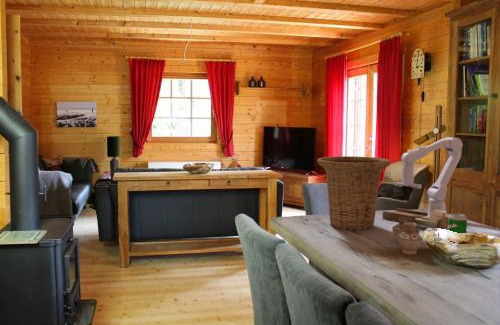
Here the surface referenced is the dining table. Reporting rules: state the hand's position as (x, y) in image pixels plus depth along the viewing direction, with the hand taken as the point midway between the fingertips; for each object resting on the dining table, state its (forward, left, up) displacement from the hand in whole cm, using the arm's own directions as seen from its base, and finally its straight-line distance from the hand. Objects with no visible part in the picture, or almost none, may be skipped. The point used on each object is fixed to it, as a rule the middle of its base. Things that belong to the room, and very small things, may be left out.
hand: (407, 200), depth 255 cm
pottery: (+53, +30, -10) cm, 61 cm away
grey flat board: (+5, +17, -9) cm, 20 cm away
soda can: (+29, +40, -10) cm, 50 cm away
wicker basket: (+37, -9, -10) cm, 39 cm away
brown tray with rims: (+5, +9, -9) cm, 14 cm away
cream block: (+5, +20, -7) cm, 22 cm away
